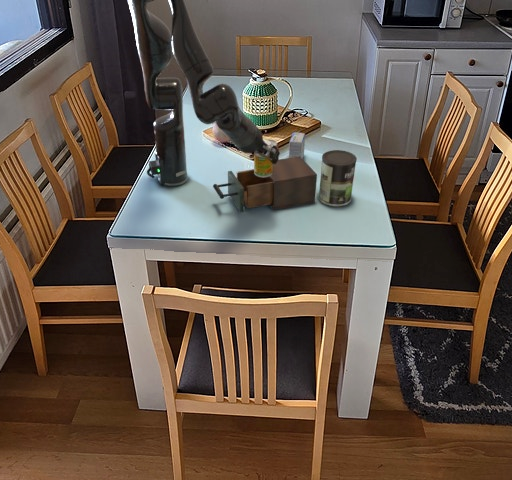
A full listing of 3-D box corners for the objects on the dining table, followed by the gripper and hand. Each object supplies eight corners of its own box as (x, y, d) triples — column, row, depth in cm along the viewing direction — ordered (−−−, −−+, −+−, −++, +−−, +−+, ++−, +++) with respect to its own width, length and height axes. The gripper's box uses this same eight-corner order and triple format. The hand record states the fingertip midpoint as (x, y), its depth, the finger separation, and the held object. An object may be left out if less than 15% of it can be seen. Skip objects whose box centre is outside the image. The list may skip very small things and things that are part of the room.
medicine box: (300, 166, 197) (302, 142, 191) (288, 164, 197) (289, 141, 192) (304, 156, 203) (305, 133, 197) (291, 154, 203) (292, 131, 198)
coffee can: (356, 195, 181) (362, 155, 172) (342, 210, 174) (347, 168, 165) (327, 187, 185) (331, 146, 177) (312, 200, 178) (316, 159, 170)
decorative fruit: (218, 149, 206) (217, 123, 200) (210, 140, 212) (209, 114, 205) (242, 145, 209) (242, 119, 203) (233, 136, 215) (233, 111, 209)
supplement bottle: (255, 178, 165) (256, 147, 159) (252, 169, 169) (253, 139, 163) (274, 177, 165) (275, 146, 159) (270, 168, 170) (271, 138, 164)
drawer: (222, 215, 169) (222, 192, 164) (211, 196, 177) (210, 173, 172) (279, 205, 174) (280, 182, 169) (265, 187, 182) (266, 165, 178)
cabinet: (273, 210, 173) (274, 181, 167) (258, 190, 183) (259, 162, 177) (314, 202, 177) (317, 174, 171) (298, 183, 187) (300, 156, 181)
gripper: (215, 139, 154) (241, 163, 169) (260, 153, 147) (282, 177, 162) (227, 114, 154) (252, 140, 169) (272, 127, 148) (293, 153, 163)
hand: (267, 158), depth 166 cm, fingers closed on supplement bottle, 5 cm apart
